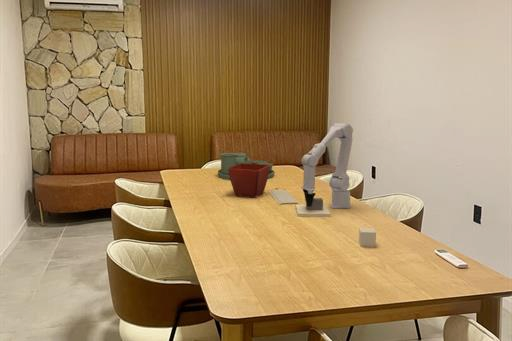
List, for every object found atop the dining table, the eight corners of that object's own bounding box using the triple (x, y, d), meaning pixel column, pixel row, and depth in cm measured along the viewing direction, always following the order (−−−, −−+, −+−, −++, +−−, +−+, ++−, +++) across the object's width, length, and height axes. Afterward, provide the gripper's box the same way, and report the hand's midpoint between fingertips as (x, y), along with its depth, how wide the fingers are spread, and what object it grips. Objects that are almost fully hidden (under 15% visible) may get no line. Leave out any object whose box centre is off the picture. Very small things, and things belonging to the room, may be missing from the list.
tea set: (255, 184, 318) (255, 159, 315) (206, 177, 339) (206, 154, 336) (284, 174, 351) (285, 151, 348) (238, 169, 372) (238, 147, 369)
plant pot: (227, 196, 282) (227, 167, 279) (240, 190, 299) (240, 162, 296) (258, 199, 274) (258, 170, 271) (270, 192, 292) (270, 164, 289)
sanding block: (321, 207, 251) (321, 198, 250) (322, 210, 246) (323, 200, 245) (305, 207, 251) (306, 198, 250) (306, 210, 246) (307, 200, 245)
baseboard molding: (276, 205, 263) (297, 205, 265) (276, 200, 263) (298, 200, 265) (266, 193, 294) (285, 192, 295) (266, 188, 293) (285, 187, 295)
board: (325, 207, 258) (325, 204, 258) (330, 216, 240) (330, 213, 240) (295, 207, 258) (295, 204, 258) (298, 216, 240) (298, 213, 240)
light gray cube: (358, 241, 203) (359, 227, 202) (373, 242, 202) (374, 228, 201) (360, 246, 197) (360, 232, 196) (375, 246, 196) (376, 232, 195)
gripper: (300, 175, 253) (299, 201, 256) (302, 181, 239) (301, 208, 241) (313, 175, 253) (313, 201, 255) (316, 181, 239) (316, 208, 241)
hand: (308, 204), depth 248 cm, fingers open, 6 cm apart
